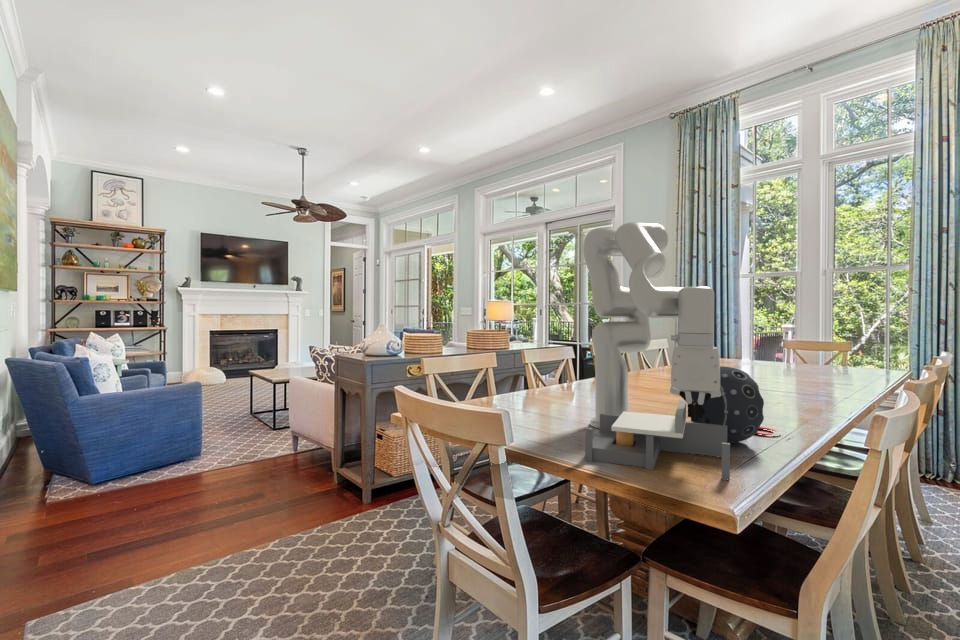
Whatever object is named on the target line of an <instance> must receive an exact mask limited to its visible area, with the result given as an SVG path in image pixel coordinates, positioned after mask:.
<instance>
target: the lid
mask: <svg viewBox="0 0 960 640" xmlns="http://www.w3.org/2000/svg"><path fill="white" fill-rule="evenodd" d="M686 422H687V402H686V401H685V400H679V401H678V405H677V408H676V411H675V413H674V415H668V414H657V413H645V412H636V411H635V412H634V411H628V412H625V411H623V413H622V414H621V415H620V416H619V418H618V419H617V420H616V421H615V423H614V424H613V425H612V426H611V431H619V432H628V433H637V434H647V435H656V436H665V437H674V438H683V434H684V429H685V424H686Z"/></svg>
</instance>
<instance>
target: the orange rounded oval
mask: <svg viewBox="0 0 960 640" xmlns="http://www.w3.org/2000/svg"><path fill="white" fill-rule="evenodd" d="M633 438H634V433H628V432H619V431H617V434H616V445H623V446H632V447H633Z"/></svg>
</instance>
